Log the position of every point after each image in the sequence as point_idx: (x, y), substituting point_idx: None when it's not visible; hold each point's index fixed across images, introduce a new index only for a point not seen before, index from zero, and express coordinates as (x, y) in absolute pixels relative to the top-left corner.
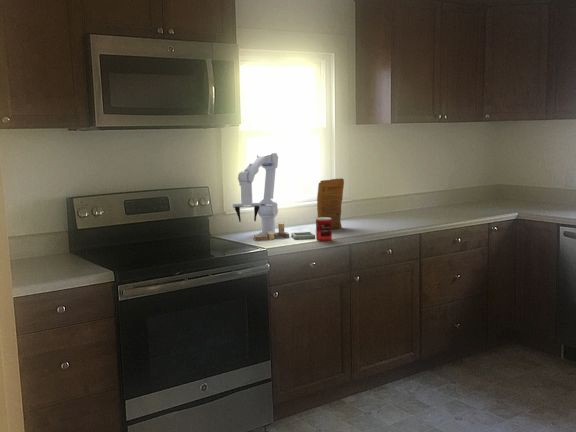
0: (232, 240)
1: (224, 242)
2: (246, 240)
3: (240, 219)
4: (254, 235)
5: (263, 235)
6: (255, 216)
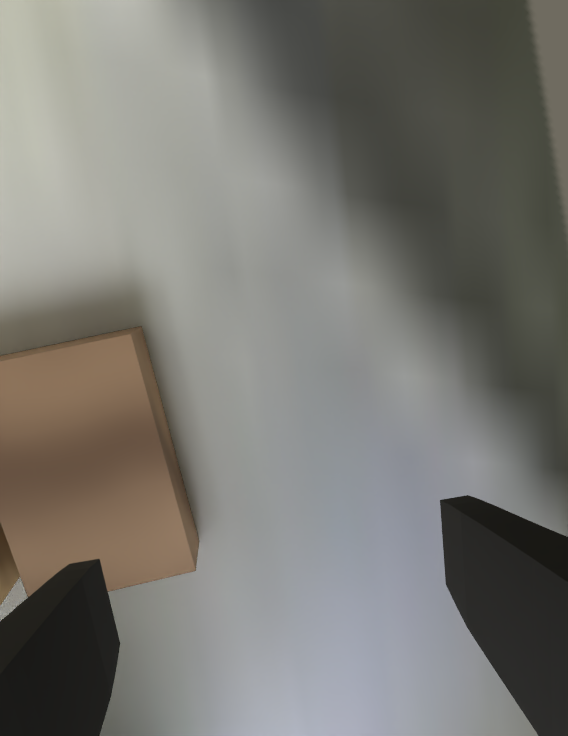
0: (456, 376)
1: (548, 217)
2: (272, 357)
3: (468, 517)
4: (173, 486)
5: (26, 452)
6: (2, 636)
